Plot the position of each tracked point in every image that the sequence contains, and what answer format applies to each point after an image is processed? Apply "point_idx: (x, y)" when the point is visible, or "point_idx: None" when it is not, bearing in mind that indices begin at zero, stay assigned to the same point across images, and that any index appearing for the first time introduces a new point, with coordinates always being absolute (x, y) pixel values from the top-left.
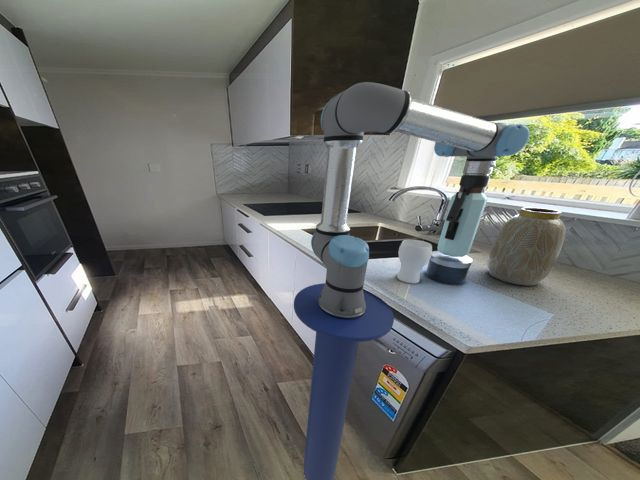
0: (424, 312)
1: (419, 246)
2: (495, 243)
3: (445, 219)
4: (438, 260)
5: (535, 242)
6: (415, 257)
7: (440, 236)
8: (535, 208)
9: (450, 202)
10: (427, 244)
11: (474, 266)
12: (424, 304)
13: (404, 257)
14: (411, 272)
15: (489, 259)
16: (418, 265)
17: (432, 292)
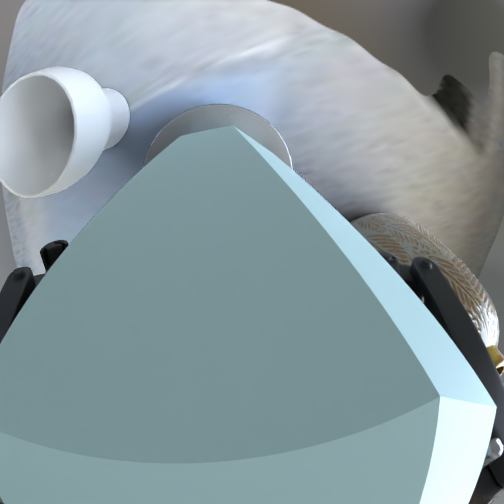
0: (23, 246)
1: (92, 103)
2: (398, 261)
3: (137, 174)
4: None
5: None
6: (19, 171)
7: (169, 145)
8: (501, 370)
9: (32, 300)
10: (77, 146)
11: (383, 175)
12: (39, 229)
13: (16, 135)
14: (65, 144)
15: (366, 232)
16: (52, 166)
17: (91, 203)
